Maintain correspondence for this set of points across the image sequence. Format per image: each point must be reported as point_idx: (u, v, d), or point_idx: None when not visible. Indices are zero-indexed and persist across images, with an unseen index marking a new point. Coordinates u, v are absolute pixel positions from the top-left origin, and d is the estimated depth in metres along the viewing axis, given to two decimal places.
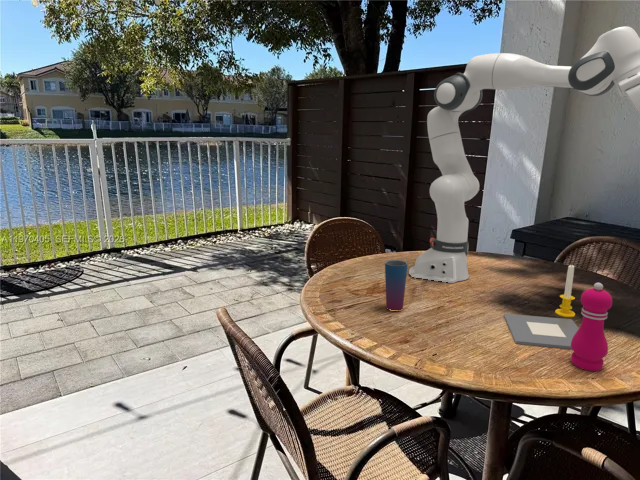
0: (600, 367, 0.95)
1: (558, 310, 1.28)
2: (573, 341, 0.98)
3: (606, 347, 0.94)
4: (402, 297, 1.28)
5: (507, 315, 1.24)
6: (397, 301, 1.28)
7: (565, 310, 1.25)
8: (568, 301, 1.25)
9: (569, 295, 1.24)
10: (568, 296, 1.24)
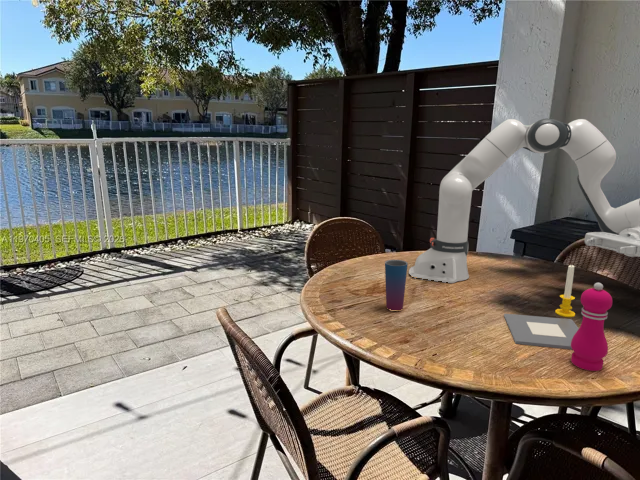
0: (600, 367, 0.95)
1: (558, 310, 1.28)
2: (573, 341, 0.98)
3: (606, 347, 0.94)
4: (402, 297, 1.28)
5: (507, 315, 1.24)
6: (397, 301, 1.28)
7: (565, 310, 1.25)
8: (568, 301, 1.25)
9: (569, 295, 1.24)
10: (568, 296, 1.24)
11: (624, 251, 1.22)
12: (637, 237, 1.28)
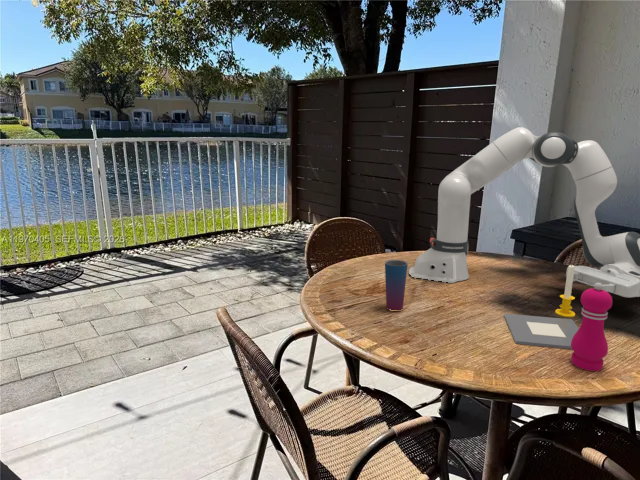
0: (600, 367, 0.95)
1: (558, 310, 1.28)
2: (573, 341, 0.98)
3: (606, 347, 0.94)
4: (402, 297, 1.28)
5: (507, 315, 1.24)
6: (397, 301, 1.28)
7: (565, 310, 1.25)
8: (568, 301, 1.25)
9: (569, 295, 1.24)
10: (568, 296, 1.24)
11: (603, 289, 1.22)
12: (617, 274, 1.28)
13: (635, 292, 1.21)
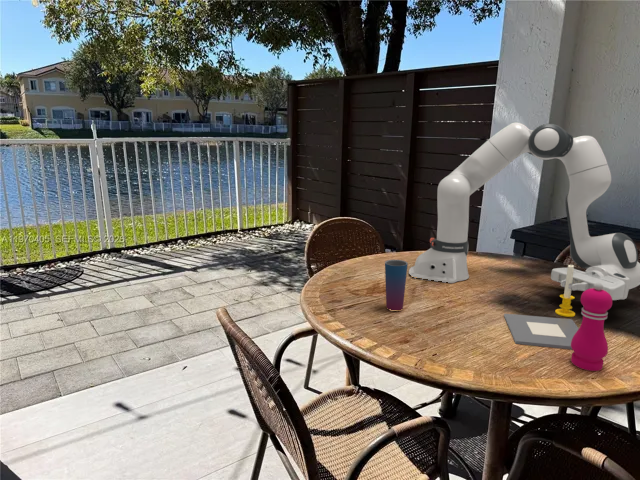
0: (600, 367, 0.95)
1: (558, 310, 1.28)
2: (573, 341, 0.98)
3: (606, 347, 0.94)
4: (402, 297, 1.28)
5: (507, 315, 1.24)
6: (397, 301, 1.28)
7: (565, 310, 1.25)
8: (568, 301, 1.25)
9: (569, 295, 1.24)
10: (568, 296, 1.24)
11: (576, 288, 1.23)
12: (602, 276, 1.26)
13: (619, 294, 1.18)
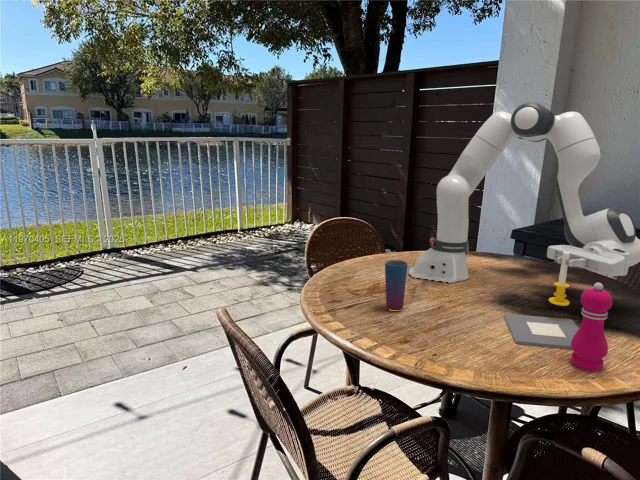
0: (600, 367, 0.95)
1: (552, 299, 1.22)
2: (573, 341, 0.98)
3: (606, 347, 0.94)
4: (402, 297, 1.28)
5: (507, 315, 1.24)
6: (397, 301, 1.28)
7: (560, 299, 1.20)
8: (563, 289, 1.19)
9: (564, 282, 1.19)
10: (563, 284, 1.19)
11: (573, 264, 1.16)
12: (600, 252, 1.19)
13: (619, 270, 1.11)
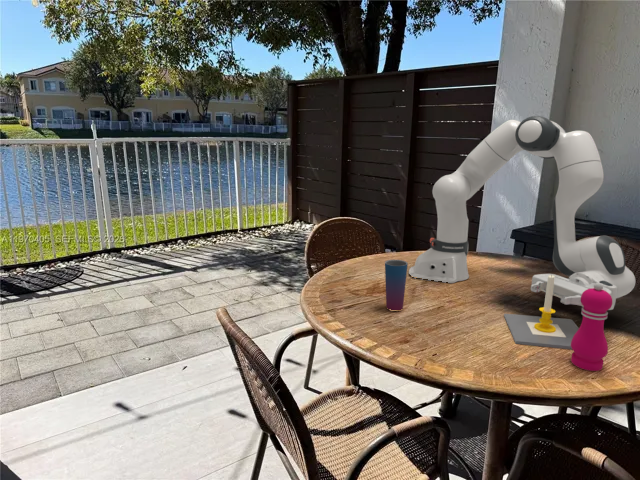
0: (600, 367, 0.95)
1: (537, 325, 1.15)
2: (573, 341, 0.98)
3: (606, 347, 0.94)
4: (402, 297, 1.28)
5: (507, 315, 1.24)
6: (397, 301, 1.28)
7: (546, 325, 1.13)
8: (549, 315, 1.13)
9: (550, 308, 1.13)
10: (549, 309, 1.13)
11: (569, 302, 1.07)
12: (586, 283, 1.13)
13: None
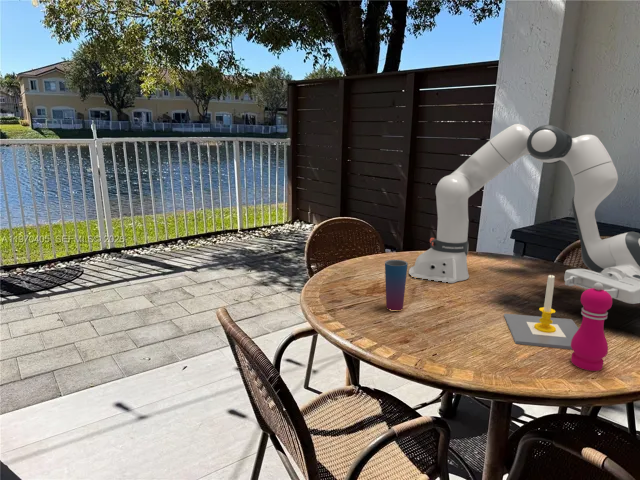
0: (600, 367, 0.95)
1: (537, 325, 1.15)
2: (573, 341, 0.98)
3: (606, 347, 0.94)
4: (402, 297, 1.28)
5: (507, 315, 1.24)
6: (397, 301, 1.28)
7: (546, 325, 1.13)
8: (549, 315, 1.13)
9: (550, 308, 1.13)
10: (549, 309, 1.13)
11: None
12: (619, 277, 1.18)
13: (639, 298, 1.10)
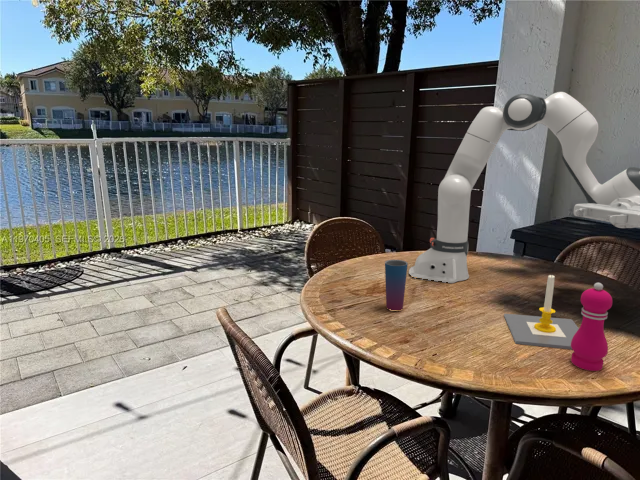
0: (600, 367, 0.95)
1: (537, 325, 1.15)
2: (573, 341, 0.98)
3: (606, 347, 0.94)
4: (402, 297, 1.28)
5: (507, 315, 1.24)
6: (397, 301, 1.28)
7: (546, 325, 1.13)
8: (549, 315, 1.13)
9: (550, 308, 1.13)
10: (549, 309, 1.13)
11: (614, 220, 1.14)
12: (628, 206, 1.20)
13: None
